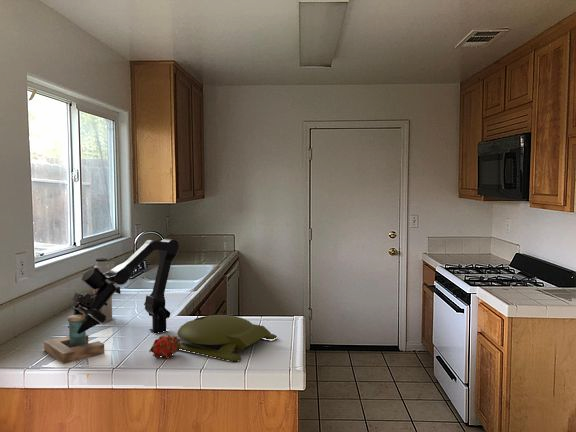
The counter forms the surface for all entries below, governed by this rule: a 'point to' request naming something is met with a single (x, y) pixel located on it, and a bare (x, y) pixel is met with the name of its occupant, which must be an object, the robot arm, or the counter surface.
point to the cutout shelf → (72, 349)
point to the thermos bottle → (104, 268)
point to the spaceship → (221, 335)
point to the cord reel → (74, 325)
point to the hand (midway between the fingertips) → (73, 330)
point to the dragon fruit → (165, 346)
